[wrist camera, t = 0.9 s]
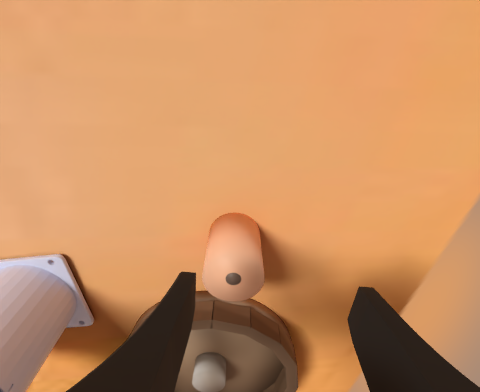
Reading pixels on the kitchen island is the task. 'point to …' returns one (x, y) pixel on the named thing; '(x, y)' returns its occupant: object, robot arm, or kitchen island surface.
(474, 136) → the kitchen island surface
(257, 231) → the bead
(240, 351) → the groove tray
